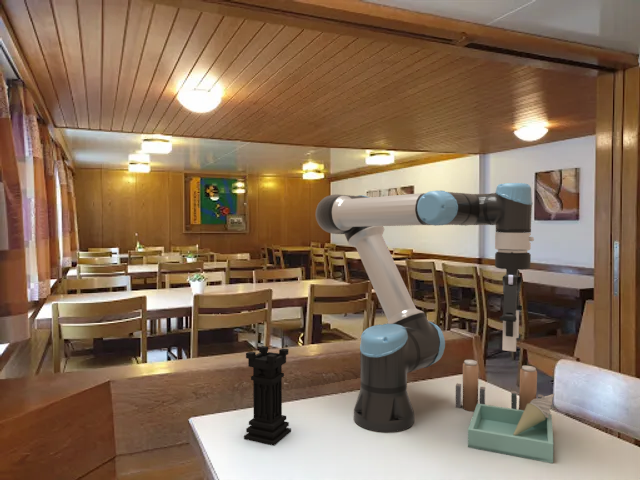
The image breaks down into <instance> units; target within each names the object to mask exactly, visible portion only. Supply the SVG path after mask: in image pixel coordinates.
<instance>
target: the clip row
mask: <svg viewBox="0 0 640 480" xmlns="http://www.w3.org/2000/svg"><path fill="white" fill-rule="evenodd" d="M517 393H518V391H515V390H511V393H510V395H511V396H510V397H511V400H510V402H511V404H510V405H511V406H510V408H511V409H517V408H518V407H517V405H518V404H517V403H518V402H517V401H518V395H517ZM543 396H544V394H540V393H538V394H537V399H541V398H542V397H543ZM479 404H485V405H486V387H485V386H480V387H479ZM461 407H462V383H458V382H457V383H456V384H455V408H456V409H461Z"/></svg>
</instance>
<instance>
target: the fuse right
mask: <svg viewBox="0 0 640 480" xmlns="http://www.w3.org/2000/svg"><path fill="white" fill-rule="evenodd" d="M519 370H520V371H519V394H518V395H519V396H518V410H525V408H526V405H527V403H530V402H531V401H532V400H533V399H537V390H538V388H537V387H538V386H537V385H538V384H537V383H538V371H537V369H536V367H535V366H531V365H521V368H520V369H519Z"/></svg>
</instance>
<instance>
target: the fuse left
mask: <svg viewBox="0 0 640 480" xmlns="http://www.w3.org/2000/svg"><path fill="white" fill-rule="evenodd" d="M477 403H478V404H479V364H478V361H477V360H474V359H465V360H464V361H463V363H462V409H463V410H464V411H467V412H474V411H475V408H476V405H477Z"/></svg>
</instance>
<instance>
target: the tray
mask: <svg viewBox="0 0 640 480" xmlns="http://www.w3.org/2000/svg"><path fill="white" fill-rule="evenodd" d="M523 412H524V410H519V408H518V409H511V407H505V406H504V407H503V406H497V405H491V404H490V405H489V404H486V403H485V404H480V403H479V402H478V403H477V405H476V408H475V411H473V414H472V417H471V420H470V422H469V426H468V428H467V448H468V449H469V448H470V449H476V450H480V451H481V450H482V451H484V452H485V451H487V452H491V453H495V454H496V453H497V454H501V455H502V454H503V455H506V456H513V457H516V458H517V457H519V458H523V459H527V460H533V461H538V462H543V463H550V464H554V435H553V434H554V433H553V417H552V414H548V415H549V417H548V418H546V420H545V421H542V422H540V423H538V424H537V425H535V426H533V427H531V428H529V429H527V430H526V431H524V432H522V433H520V434H518V435H516V436H514V435H513V434H514V432H515V429H516V427H517V425H518V423H519V421H520V419H521V416H522V414H523Z"/></svg>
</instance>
